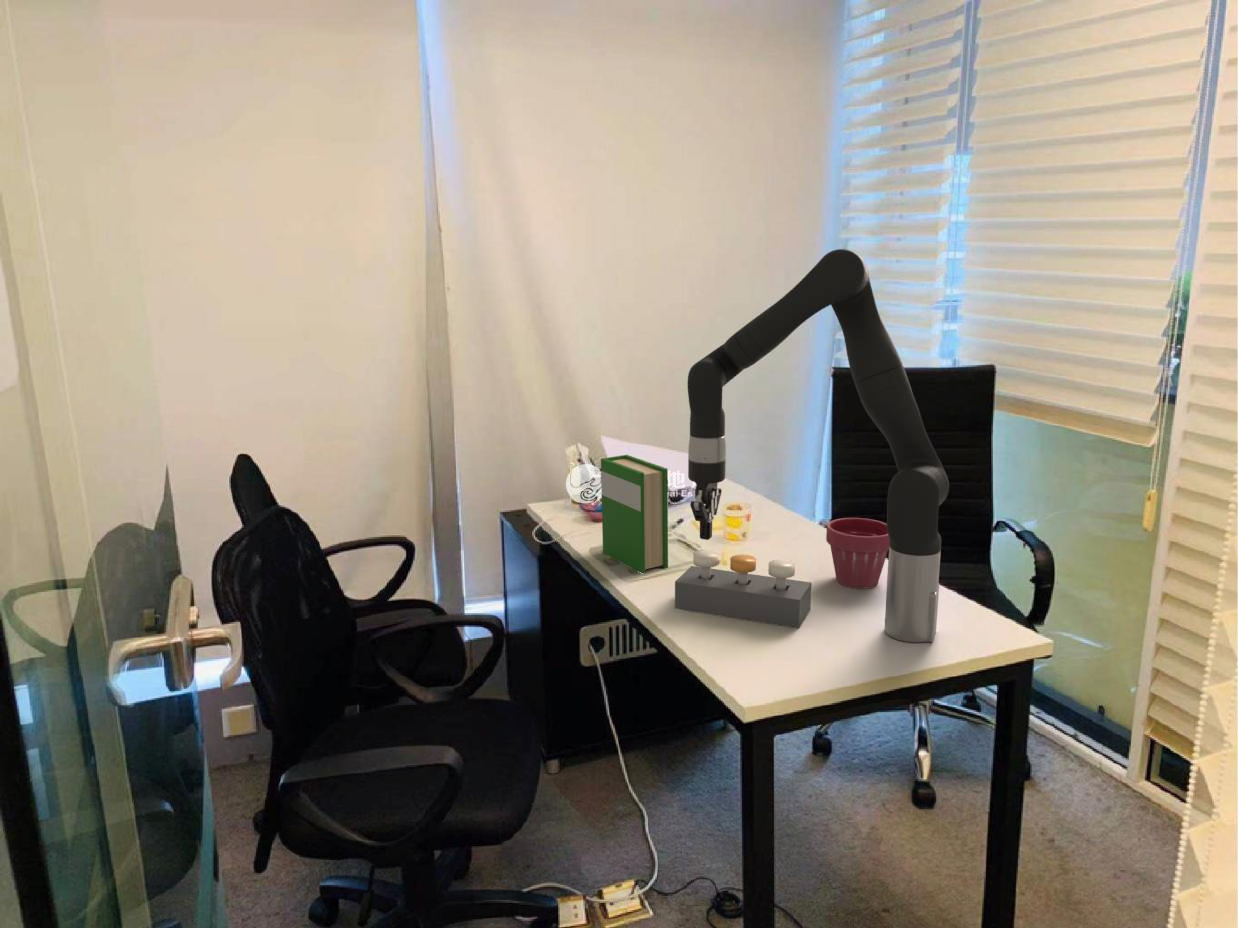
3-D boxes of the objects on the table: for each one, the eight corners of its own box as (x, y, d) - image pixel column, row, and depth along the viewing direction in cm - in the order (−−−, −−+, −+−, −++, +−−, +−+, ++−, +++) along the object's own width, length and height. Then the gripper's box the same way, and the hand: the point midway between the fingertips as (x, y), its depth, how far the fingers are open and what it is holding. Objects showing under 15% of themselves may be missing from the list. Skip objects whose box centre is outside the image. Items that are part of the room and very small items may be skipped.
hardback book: (668, 567, 207) (667, 468, 201) (641, 574, 203) (640, 473, 197) (628, 547, 221) (626, 454, 216) (602, 552, 217) (600, 458, 212)
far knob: (721, 583, 185) (721, 551, 184) (713, 591, 181) (713, 559, 179) (698, 579, 187) (698, 548, 186) (689, 588, 183) (689, 556, 181)
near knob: (796, 594, 179) (797, 561, 177) (790, 603, 174) (791, 569, 172) (771, 590, 181) (772, 558, 179) (764, 599, 176) (765, 566, 175)
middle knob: (758, 588, 182) (759, 556, 180) (751, 597, 177) (751, 564, 176) (734, 585, 184) (734, 553, 182) (726, 593, 180) (726, 561, 178)
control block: (810, 609, 181) (811, 582, 179) (798, 628, 172) (799, 599, 171) (691, 591, 191) (691, 565, 190) (675, 608, 183) (674, 581, 181)
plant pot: (897, 576, 198) (900, 522, 195) (881, 597, 187) (884, 540, 184) (835, 566, 205) (837, 513, 202) (816, 585, 194) (818, 530, 191)
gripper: (713, 466, 170) (712, 550, 174) (734, 451, 182) (733, 531, 186) (677, 462, 173) (677, 545, 178) (700, 448, 185) (699, 527, 189)
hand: (705, 538), depth 182 cm, fingers closed
